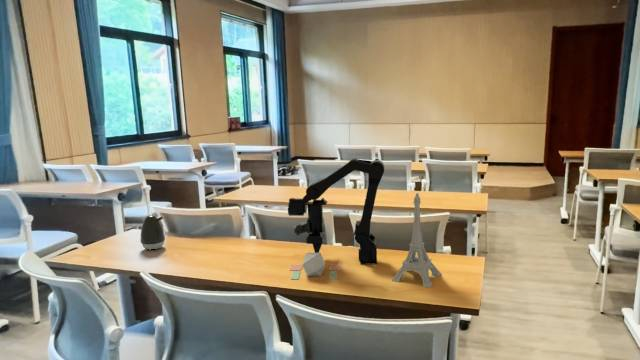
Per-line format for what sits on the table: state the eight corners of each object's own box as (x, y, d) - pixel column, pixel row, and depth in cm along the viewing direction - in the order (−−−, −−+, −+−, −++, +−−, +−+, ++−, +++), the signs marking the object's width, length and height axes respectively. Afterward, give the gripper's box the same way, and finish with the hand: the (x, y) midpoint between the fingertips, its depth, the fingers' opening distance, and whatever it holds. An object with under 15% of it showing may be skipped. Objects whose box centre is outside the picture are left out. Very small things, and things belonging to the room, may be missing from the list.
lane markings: (341, 264, 167) (341, 264, 167) (340, 279, 154) (340, 278, 154) (291, 265, 169) (291, 264, 168) (286, 279, 155) (286, 279, 155)
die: (317, 282, 153) (331, 258, 155) (296, 270, 154) (309, 246, 155) (317, 281, 161) (330, 258, 163) (297, 270, 162) (310, 247, 163)
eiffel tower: (404, 268, 162) (404, 188, 157) (441, 274, 155) (442, 190, 150) (391, 281, 151) (391, 195, 146) (430, 288, 144) (431, 198, 139)
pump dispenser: (161, 251, 190) (158, 217, 188) (137, 252, 190) (134, 218, 188) (169, 244, 200) (166, 212, 198) (147, 245, 200) (143, 212, 198)
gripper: (297, 210, 179) (298, 247, 182) (291, 222, 161) (293, 262, 164) (324, 209, 179) (325, 246, 181) (322, 221, 160) (323, 262, 163)
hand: (316, 254), depth 172 cm, fingers closed
